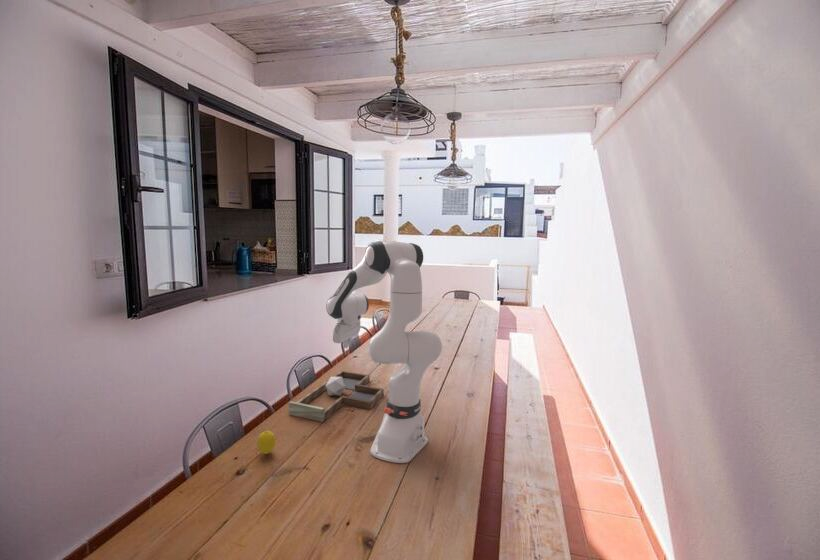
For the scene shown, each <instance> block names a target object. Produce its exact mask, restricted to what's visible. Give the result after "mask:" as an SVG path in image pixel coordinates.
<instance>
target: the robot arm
mask: <svg viewBox="0 0 820 560" xmlns="http://www.w3.org/2000/svg"><path fill="white" fill-rule="evenodd" d="M423 262H424V252H423V249H422V248H421V246H420V245H418V244H416V243H412V242H401V241H397V240H396V241H395V240H386V239H384V238H383V239H380V238H379V239H376V240H375V241H372V242H370V243H368V245H367V247H366V249H365V252H364V256H363V257H362V260H360V263H358V264H357V266H355V267H354V268H353V269H352V270H350V271H349V272H348V273H347V274H346V275H345V277H344V278H343V280H342V281H341V282H340V284H339V286H338V287H337V289H336V290H335V291H334V293H333V294H332V295H331V296H330V297H329V298H328V299H327V302H326V305H325V307H326V308H325V309H326V312H327V314H328V316H330V317H331V318H332V319H335V320H336V321H337V322H336V324H335V326H334V327H333V331H332V332H333V333H332V342H333V343H334V344H341V343H342V344H343V348H344V349H348V348H349V347H351V341H352V337H354V336H356V335H358V334H359V333H360V331H361V318H362V315H365V314H367V312H368V311H369V308H370V301H369V299H368V297H367V295H365V294H364V293H361V292H360V291H359V290H358V289H360V288H365V287H368V286H372V285H377V284H379V283H380V282H382V280H383V279H384V278H385V277H386V276H387V273H388V274H389V276H390V292H389V294H390V295H389V298H390V299H389V312H388V316H387V319H386V321H385V323H384V324H383V326H382V327H381V329H380V330H378V331H377V332H376V333H375V334H374V335H373V336H372V337H371V338H370V340H369V342H368V354H369V357H370V358H371V360H372V361H373V362H374V363H378V364H383V365H385V364H386V365H396V364H398V365H399V364H402V365H403V364H404V366H403V367H402V368H401V369H399V370H398V371H395V372H394V373H393V374H391V376H390V378H389V379H388V398H387V400H386V405H385V407H384V409H383V418H382V421H381V424H380V427H379V429H378V431H377V433H376V436H375V438H374V440H373V443H372V445H371V448H370V451H369V454H370V455H371V456H372V457H374V458H377V459H379V460H382V461H385V462H390V463H395V464H396V463H398V464H406V463H409V462H411V460H413V458H414V457H415V456H416V455H417V454H418V453H419V452H420V451H421V450H422V449H423V448H425V446H426V445H427V444H428V443H429V439H428V437H427V436H426V435H425V418H424V416H423V414H422V413H421V407H422V403H421V399H420V392H421V384H422V379H423V376H424V374H425V373H426V371H427V369H428V368H429V367H430V366H431V364H432V363H434V362H436V361H437V360H438V359H439V357H440V356H441V353H442V350H443V343H442V341H441V340H442V339H440V337H439V336H438V334H437V333H435V332H430V331H425V330H424V331H423V330H419V331H417V330H415V331H414V330H413V331H409V330H408V331H405V330H406V327H407V326H408V325H409V324H410V323H412V322H414V321H416V320H418V318H420V317H421V315H422V313H423V312H422V311H423V281H422V273H421V267H422V264H423Z"/></svg>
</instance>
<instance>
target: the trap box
mask: <svg viewBox="0 0 820 560" xmlns="http://www.w3.org/2000/svg"><path fill="white" fill-rule="evenodd" d="M332 377H342V378H349V379H354V380H360V381H359V382H358V383H357V384H356V385H355V390H354V392H355V391H356V392H362V393H367V394H373V395H374V396H373V397H372V398H371V399H370V400H369V401H367V400H362V399H357V398H351V397H349V396H345V395H341V396H339V398H338V399H336V400H335V401H334V402H333V403H331V404H330V405H329V406H327V408H325V407H321V406H316V405H312V404H309V402H311V401H312V400H314V399H315V398H317V397H318V396H319V395H321V394H322V393H324V392H325V391H327V389H326V384H327V382H328V381H329V379H327V380H326V381H324V382H323V383H322V384H320V385H319V386H317V387H315V388H314V389H313V390H312V391H310V392H309V393H307V394H305V395H304V396H302V397H301V398H299V400H297V401H293V400H292V401H288V415H290V416H296V417H301V418H304V419H310V420H314V421H318V422H322V423H323V422H324V421H326V420H327V419H328V418H329V417H330V416H331V415H332V414H333V413H335V412H336V411H337V410H338V409H339V408H341V407H342V406H343V405H346V406H352V407H357V408H362V409H367V410H371V409H372V408H373V407H374V406H376V404H377V403H378V402H379V401H380V400H381V398H382V397H383V396H384V395H385V393H384V391H385V389H384V388H380V387H375V386H369V385H367V384H368V383H369V382H370V374H364V373H358V372H352V371H345V370H340V371H339V372H338V373H336V374H335V375H333V376H332Z"/></svg>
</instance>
